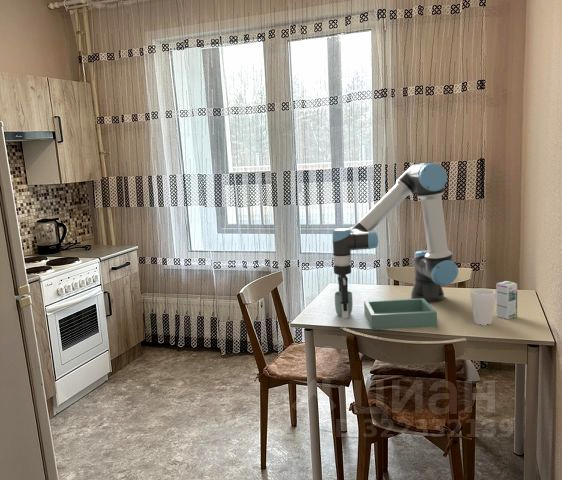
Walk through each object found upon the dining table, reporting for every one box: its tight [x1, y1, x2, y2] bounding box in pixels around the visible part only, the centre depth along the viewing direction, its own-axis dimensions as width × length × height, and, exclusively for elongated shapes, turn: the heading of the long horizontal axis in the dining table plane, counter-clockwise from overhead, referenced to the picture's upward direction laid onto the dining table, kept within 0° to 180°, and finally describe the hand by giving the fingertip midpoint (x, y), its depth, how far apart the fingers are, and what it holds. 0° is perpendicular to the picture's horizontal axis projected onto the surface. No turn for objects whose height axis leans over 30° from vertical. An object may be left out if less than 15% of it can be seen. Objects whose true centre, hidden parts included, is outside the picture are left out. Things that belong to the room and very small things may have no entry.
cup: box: [334, 290, 354, 317], centre depth 222 cm, size 8×8×10 cm
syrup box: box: [495, 280, 518, 320], centre depth 208 cm, size 6×6×14 cm
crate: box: [363, 298, 438, 330], centre depth 212 cm, size 26×20×6 cm
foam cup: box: [469, 287, 497, 326], centre depth 202 cm, size 10×9×13 cm
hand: (344, 314), depth 223 cm, fingers open, 9 cm apart
